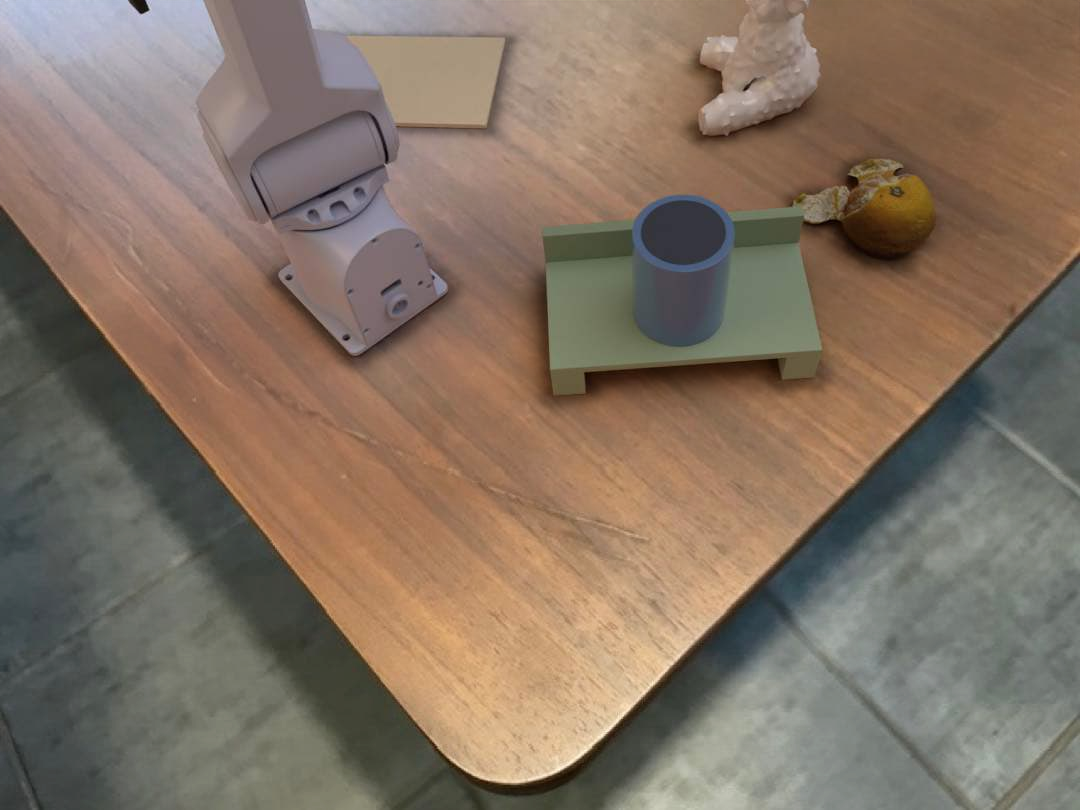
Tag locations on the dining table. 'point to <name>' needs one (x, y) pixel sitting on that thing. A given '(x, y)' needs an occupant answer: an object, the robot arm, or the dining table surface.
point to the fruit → (877, 209)
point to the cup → (681, 269)
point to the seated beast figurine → (760, 67)
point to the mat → (435, 77)
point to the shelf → (617, 343)
